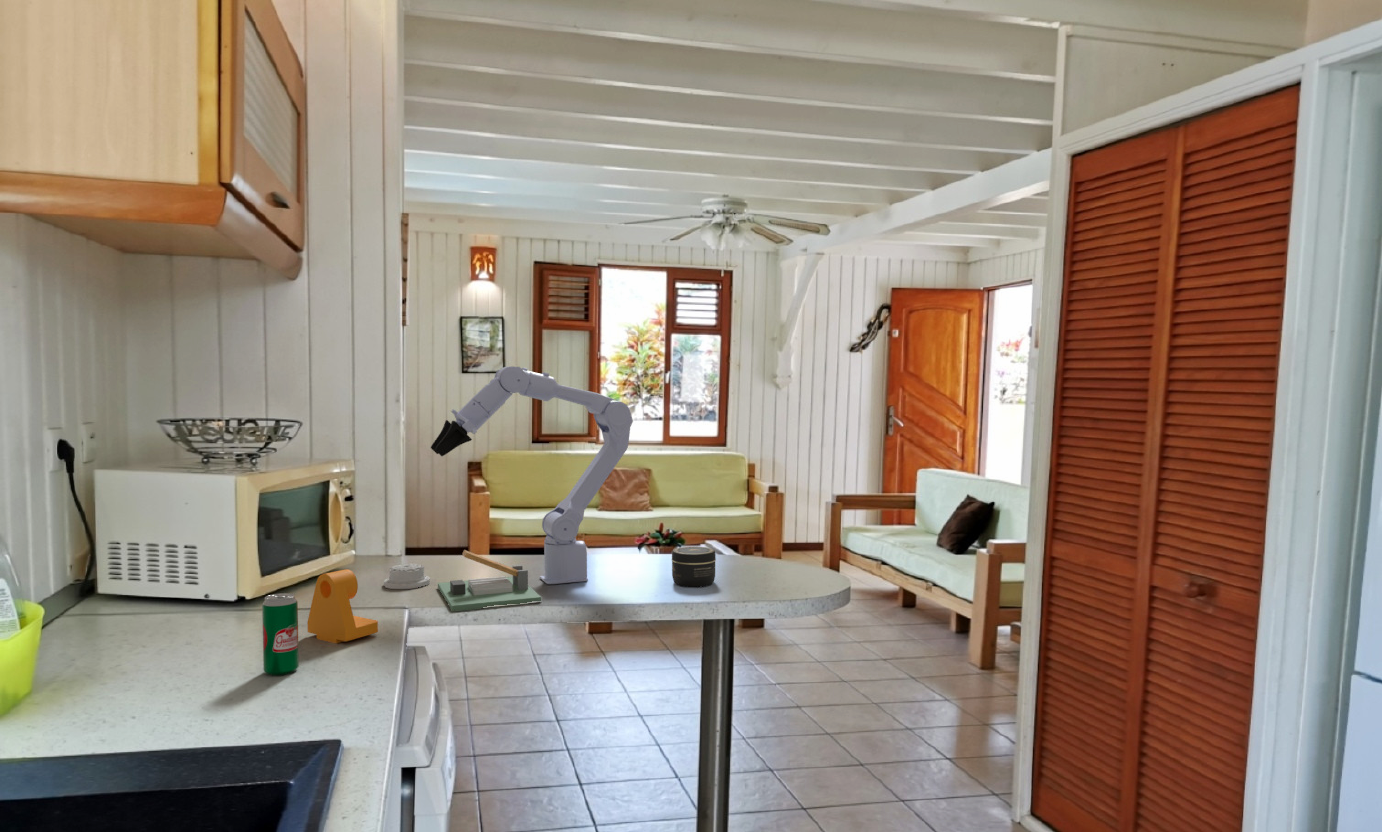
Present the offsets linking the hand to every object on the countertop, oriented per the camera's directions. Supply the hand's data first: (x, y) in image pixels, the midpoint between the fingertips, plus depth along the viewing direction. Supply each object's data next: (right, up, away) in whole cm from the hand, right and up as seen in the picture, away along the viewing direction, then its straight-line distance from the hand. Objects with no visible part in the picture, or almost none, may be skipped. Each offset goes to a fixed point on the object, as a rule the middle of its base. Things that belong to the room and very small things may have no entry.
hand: (435, 452), depth 193 cm
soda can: (-9, -33, -52) cm, 63 cm away
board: (+12, -31, -2) cm, 33 cm away
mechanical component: (-9, -31, +8) cm, 33 cm away
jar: (+56, -30, +9) cm, 64 cm away
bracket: (-7, -32, -33) cm, 46 cm away
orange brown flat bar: (+13, -25, -2) cm, 28 cm away
